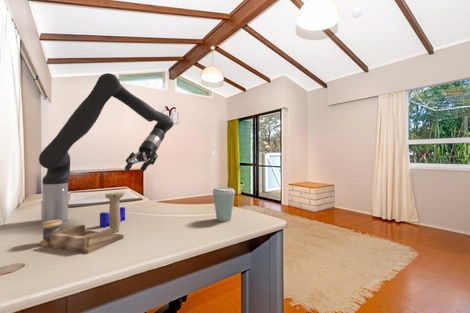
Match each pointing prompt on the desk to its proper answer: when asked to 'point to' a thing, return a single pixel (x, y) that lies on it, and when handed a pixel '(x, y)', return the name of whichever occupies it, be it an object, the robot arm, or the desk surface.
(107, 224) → the cable clip
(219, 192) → the disposable coffee cup
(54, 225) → the bobbin
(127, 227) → the desk surface
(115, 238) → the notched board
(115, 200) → the handle
